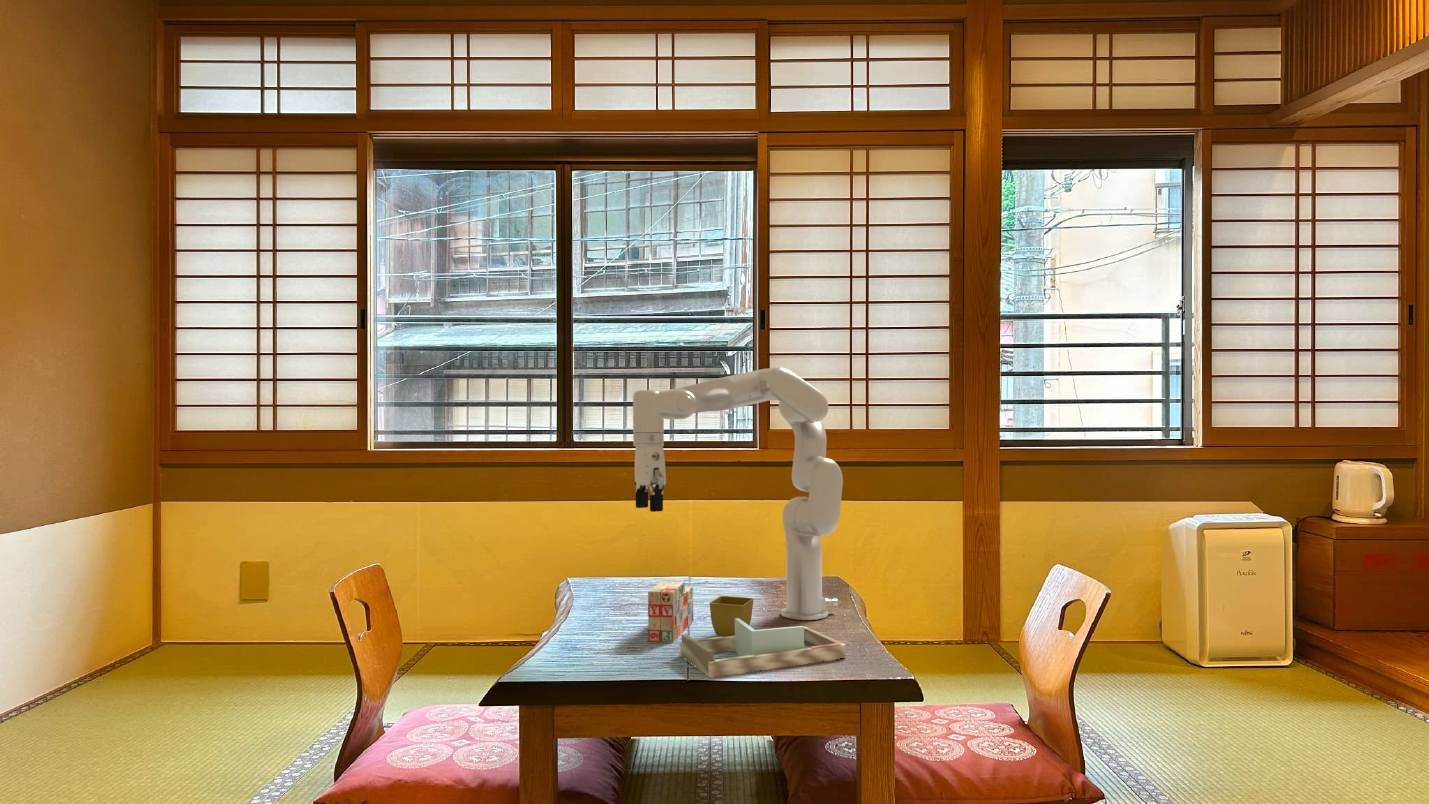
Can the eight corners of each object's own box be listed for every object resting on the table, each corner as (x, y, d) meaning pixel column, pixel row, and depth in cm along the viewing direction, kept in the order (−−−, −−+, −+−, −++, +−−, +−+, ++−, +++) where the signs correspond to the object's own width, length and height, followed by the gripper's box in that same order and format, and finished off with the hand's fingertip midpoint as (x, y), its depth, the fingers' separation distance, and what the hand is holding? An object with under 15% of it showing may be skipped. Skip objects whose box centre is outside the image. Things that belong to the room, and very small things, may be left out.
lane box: (806, 639, 198) (805, 618, 198) (846, 658, 182) (845, 635, 182) (679, 655, 185) (679, 633, 185) (710, 678, 169) (710, 653, 169)
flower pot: (754, 634, 203) (754, 597, 203) (744, 643, 195) (743, 605, 195) (720, 631, 206) (720, 595, 206) (708, 640, 197) (708, 602, 198)
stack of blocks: (670, 620, 218) (670, 573, 218) (693, 621, 217) (693, 574, 217) (647, 642, 197) (647, 590, 197) (673, 643, 196) (673, 591, 196)
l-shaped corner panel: (804, 661, 180) (803, 626, 180) (752, 666, 176) (751, 631, 177) (784, 647, 191) (783, 614, 191) (734, 651, 188) (734, 618, 188)
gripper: (676, 440, 198) (676, 512, 198) (649, 439, 214) (650, 505, 214) (646, 441, 195) (647, 513, 195) (622, 439, 211) (622, 507, 210)
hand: (649, 509), depth 204 cm, fingers open, 9 cm apart
